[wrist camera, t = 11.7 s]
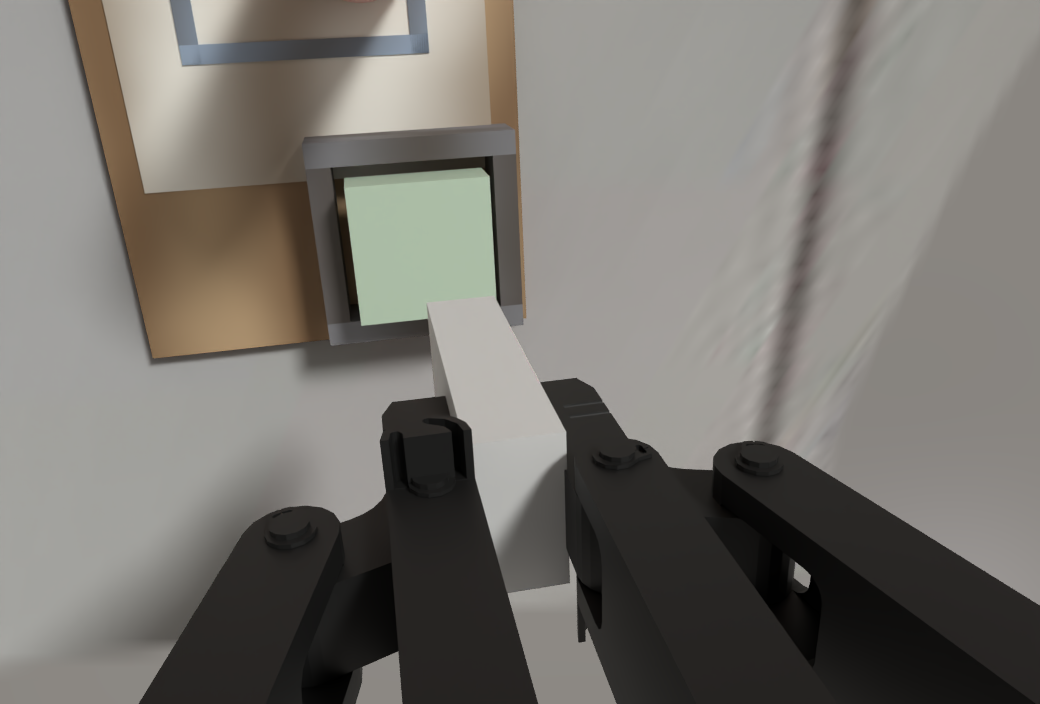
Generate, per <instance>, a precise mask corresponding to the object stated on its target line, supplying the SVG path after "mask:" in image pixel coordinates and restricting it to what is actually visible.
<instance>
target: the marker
mask: <svg viewBox="0 0 1040 704" xmlns="http://www.w3.org/2000/svg"><path fill="white" fill-rule="evenodd" d="M343 1H347V2H353V3H367V2H373V1H376V0H343Z"/></svg>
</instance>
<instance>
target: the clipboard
mask: <svg viewBox="0 0 1040 704" xmlns="http://www.w3.org/2000/svg"><path fill="white" fill-rule="evenodd" d="M68 2H69V6H70V10H71V15H72V19H73V23H74V27H75V31H76V36H77V40H78V44H79V48H80V53H81V57H82V61H83V65H84V69H85V74H86V78H87V82H88V86H89V91H90V95H91V99H92V103H93V107H94V112H95V116H96V120H97V124H98V129H99V133H100V137H101V141H102V145H103V150H104V154H105V158H106V162H107V167H108V171H109V175H110V179H111V183H112V188H113V192H114V196H115V200H116V205H117V209H118V213H119V217H120V221H121V226H122V230H123V234H124V238H125V243H126V247H127V251H128V255H129V259H130V264H131V268H132V272H133V276H134V281H135V285H136V289H137V293H138V297H139V302H140V306H141V310H142V314H143V319H144V323H145V327H146V331H147V335H148V340H149V344H150V348H151V352H152V357H153V358H162V357H171V356H181V355H190V354H199V353H208V352H218V351H227V350H236V349H245V348H255V347H264V346H273V345H282V344H292V343H301V342H310V341H319V340H328V339H330V346H333V345H342V344H352V343H361V342H370V341H379V340H388V339H397V338H406V337H415V336H425V335H429V325H428V319H421V320H412V321H402V322H393V323H383V324H374V325H365V326H361V319H360V311H359V303H358V295H357V287H356V279H355V271H354V263H353V255H352V247H351V239H350V231H349V223H348V215H347V208H346V200H345V192H344V178H351V177H364V176H377V175H390V174H403V173H416V172H430V171H443V170H456V169H469V168H482V169H483V170H484V171H485V172H486V173H487V174H488V175H489V176H490V194H491V212H492V230H493V247H494V265H495V283H496V300H497V302H498V304H499V306H500V308H501V310H502V312H503V314H504V315H505V317H506V319H507V321H508V323H509V325H510V326H516V325H523V318H526V300H525V276H524V252H523V227H522V203H521V179H520V155H519V131H518V107H517V83H516V59H515V35H514V11H513V0H376V1H373V2H367V3H353V2H347V1H343V0H68Z"/></svg>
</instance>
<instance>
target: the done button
mask: <svg viewBox="0 0 1040 704" xmlns="http://www.w3.org/2000/svg"><path fill="white" fill-rule="evenodd" d="M344 192H345V200H346V208H347V215H348V223H349V231H350V239H351V247H352V255H353V263H354V271H355V279H356V287H357V295H358V303H359V311H360V319H361V326H365V325H374V324H383V323H393V322H402V321H412V320H421V319H428V314H427V303H428V302H437V301H447V300H457V299H467V298H477V297H486V296H494V297H495V298H496V283H495V265H494V247H493V230H492V212H491V194H490V176H489V175H488V174H487V173H486V172H485V171H484V170H483V169H482V168H469V169H456V170H443V171H430V172H416V173H403V174H390V175H377V176H364V177H351V178H344Z"/></svg>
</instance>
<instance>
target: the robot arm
mask: <svg viewBox="0 0 1040 704" xmlns="http://www.w3.org/2000/svg"><path fill="white" fill-rule="evenodd" d="M427 314H428V325H429V336H430V347H431V358H432V368H433V379H434V390H435V397H431V398H423V399H415V400H407V401H398V402H392V403H391V404H390V406H389V407H388V408H387V410H386V411H385V412H384V414H383V415H382V425H383V433H382V436H381V439H380V447H381V455H382V463H383V471H384V479H385V487H386V494H385V495H384V497H383V499H382V500H381V501H380V502H379V503H378V504H377V505H376V506H375V507H374V508H372V509H371V510H369V511H368V512H366V513H364V514H363V515H360V516H358V517H355V518H353V519H351V520H348V521H345V522H342V523H340V521H339V520H338V519H337V517H336V516H335V514H334V513H332V512H330V511H328V510H326V509H324V508H321V507H312V506H299V507H288V508H284V509H281V510H277V511H275V512H272V513H270V514H267V515H266V516H264V517H262V518H261V519H259V520H257V521H255V522H254V523H253V524H252V525H251V526H250V527H249V528H248V529H247V530H246V531H245V532H244V533H243V535H242V536H241V538H240V540H239V541H238V543H237V544H236V546H235V548H234V549H233V551H232V553H231V554H230V556H229V558H228V559H227V561H226V562H225V564H224V566H223V567H222V569H221V571H220V572H219V574H218V575H217V577H216V579H215V580H214V582H213V584H212V585H211V587H210V588H209V590H208V592H207V593H206V595H205V597H204V598H203V600H202V602H201V603H200V605H199V606H198V608H197V610H196V611H195V613H194V615H193V616H192V618H191V619H190V621H189V623H188V624H187V626H186V628H185V629H184V631H183V632H182V634H181V636H180V637H179V639H178V641H177V642H176V644H175V646H174V647H173V649H172V650H171V652H170V654H169V655H168V657H167V659H166V660H165V662H164V663H163V665H162V667H161V668H160V670H159V672H158V673H157V675H156V677H155V678H154V680H153V682H152V683H151V685H150V686H149V688H148V689H147V691H146V693H145V694H144V696H143V698H142V699H141V701H140V703H139V704H355V703H356V700H357V697H358V693H359V690H360V687H361V683H362V667H363V666H365V665H368V664H370V663H372V662H374V661H377V660H379V659H381V658H384V657H386V656H388V655H390V654H393V653H395V652H398V651H399V663H400V677H401V690H402V702H403V704H538V702H537V698H536V694H535V691H534V688H533V684H532V680H531V677H530V673H529V669H528V666H527V662H526V659H525V655H524V651H523V648H522V644H521V641H520V637H519V634H518V630H517V626H516V623H515V619H514V616H513V612H512V608H511V605H510V601H509V598H508V594H507V593H511V592H517V591H523V590H530V589H536V588H542V587H548V586H554V585H560V584H566V583H570V575H569V556H570V559H571V561H572V564H573V566H574V568H575V571H576V573H577V623H578V624H577V625H578V642H585V630H586V629H587V628H588V631H589V633H590V636H591V639H592V641H593V644H594V646H595V649H596V652H597V654H598V657H599V659H600V662H601V664H602V667H603V670H604V672H605V675H606V677H607V680H608V682H609V685H610V688H611V690H612V693H613V695H614V698H615V700H616V703H617V704H1040V605H1038V604H1036V603H1035V602H1033V601H1031V600H1030V599H1028V598H1027V597H1025V596H1023V595H1022V594H1020V593H1018V592H1017V591H1015V590H1013V589H1012V588H1010V587H1009V586H1007V585H1006V584H1004V583H1003V582H1001V581H999V580H998V579H996V578H994V577H993V576H991V575H989V574H988V573H986V572H985V571H983V570H981V569H980V568H978V567H977V566H975V565H974V564H972V563H970V562H969V561H967V560H965V559H964V558H962V557H961V556H959V555H957V554H956V553H954V552H953V551H951V550H949V549H948V548H946V547H945V546H943V545H941V544H940V543H938V542H937V541H935V540H933V539H931V538H930V537H928V536H927V535H925V534H924V533H922V532H920V531H919V530H917V529H916V528H914V527H912V526H911V525H909V524H908V523H906V522H904V521H902V520H901V519H899V518H898V517H896V516H895V515H893V514H891V513H890V512H888V511H886V510H885V509H883V508H882V507H880V506H879V505H877V504H875V503H874V502H872V501H871V500H869V499H867V498H866V497H864V496H862V495H861V494H859V493H858V492H856V491H854V490H853V489H851V488H850V487H848V486H846V485H845V484H843V483H842V482H840V481H838V480H837V479H835V478H833V477H832V476H830V475H829V474H827V473H825V472H824V471H822V470H821V469H819V468H817V467H816V466H814V465H813V464H811V463H809V462H808V461H806V460H805V459H803V458H801V457H800V456H798V455H796V454H795V453H793V452H791V451H789V450H787V449H784V448H782V447H780V446H776V445H772V444H768V443H765V442H760V441H755V442H753V441H744V442H740V443H734V444H729V445H727V446H725V447H723V448H721V449H719V450H718V451H717V453H716V454H715V455H714V457H713V470H693V469H679V468H671V467H668V466H667V464H666V463H665V462H664V460H663V459H662V457H661V456H660V455H659V453H658V452H657V451H656V450H655V449H653V448H652V447H651V446H650V445H648V444H645V443H643V442H640V441H638V440H633V439H628V438H627V436H626V435H625V433H624V432H623V430H622V429H621V428H620V426H619V425H618V423H617V422H616V420H615V419H614V417H613V416H612V414H611V413H609V410H608V408H607V407H606V405H605V404H604V403H602V399H601V398H600V396H599V395H598V393H597V392H596V390H595V389H594V388H593V387H591V386H590V385H588V384H586V383H584V382H582V381H580V380H579V379H577V378H572V379H564V380H556V381H547V382H540V381H539V380H538V378H537V376H536V374H535V372H534V370H533V368H532V366H531V365H530V363H529V361H528V359H527V357H526V355H525V353H524V351H523V349H522V348H521V346H520V344H519V342H518V340H517V338H516V336H515V334H514V332H513V331H512V329H511V327H510V325H509V323H508V321H507V319H506V317H505V315H504V314H503V312H502V310H501V308H500V306H499V304H498V302H497V300H496V298H495V297H494V296H486V297H477V298H467V299H457V300H447V301H437V302H428V303H427ZM795 562H796V563H798V564H799V565H800V566H802V567H803V568H804V569H805V570H806V571H807V572H808V573H809V574H810V575H811V578H810V585H809V588H807V587H805V586H803V585H802V584H801V583H799V582H798V581H797V580H796V579H794V569H795Z"/></svg>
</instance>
